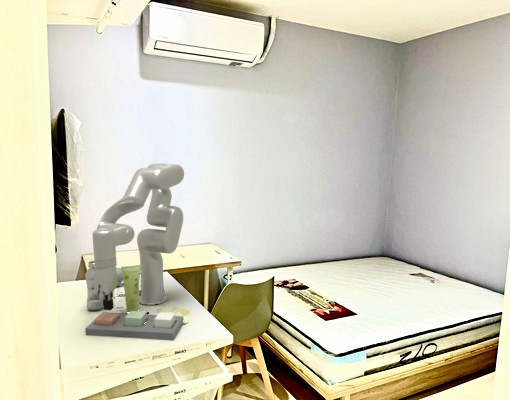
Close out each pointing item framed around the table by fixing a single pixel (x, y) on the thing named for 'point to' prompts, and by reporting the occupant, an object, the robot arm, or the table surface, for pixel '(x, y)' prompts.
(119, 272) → the chubby cartoon animal
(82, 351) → the table surface
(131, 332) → the panel
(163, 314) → the offwhite button
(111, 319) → the terracotta button
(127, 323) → the sage button
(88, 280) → the plastic bottle
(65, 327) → the table surface
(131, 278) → the tube
